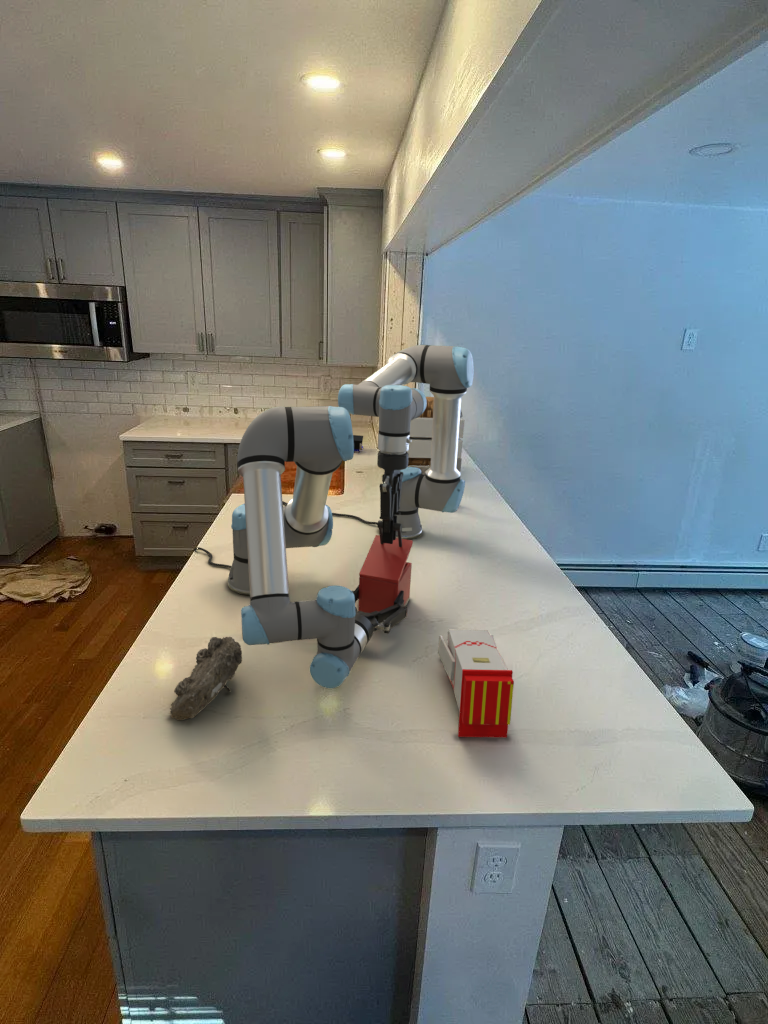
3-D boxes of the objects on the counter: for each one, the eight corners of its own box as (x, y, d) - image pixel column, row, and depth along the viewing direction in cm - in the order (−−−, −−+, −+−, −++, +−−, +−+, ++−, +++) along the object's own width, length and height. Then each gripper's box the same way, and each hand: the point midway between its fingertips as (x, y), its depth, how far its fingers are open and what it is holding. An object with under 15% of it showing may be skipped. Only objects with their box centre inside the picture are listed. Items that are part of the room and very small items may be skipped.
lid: (376, 537, 152) (373, 513, 146) (413, 543, 149) (411, 518, 143) (359, 576, 142) (355, 552, 136) (398, 583, 139) (396, 558, 133)
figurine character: (362, 456, 306) (363, 447, 319) (363, 443, 302) (363, 434, 316) (350, 456, 306) (351, 446, 319) (350, 442, 302) (351, 433, 316)
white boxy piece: (382, 463, 289) (386, 382, 275) (445, 464, 293) (451, 384, 279) (390, 482, 257) (394, 392, 243) (460, 483, 261) (468, 394, 247)
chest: (374, 592, 158) (375, 556, 154) (409, 599, 155) (411, 562, 151) (357, 616, 146) (359, 577, 142) (396, 623, 143) (398, 584, 139)
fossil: (193, 639, 125) (242, 608, 120) (224, 667, 128) (272, 638, 123) (147, 714, 105) (202, 680, 100) (184, 746, 108) (239, 715, 103)
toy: (488, 613, 130) (523, 677, 101) (484, 667, 133) (517, 744, 104) (435, 612, 130) (455, 676, 101) (432, 666, 133) (451, 743, 103)
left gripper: (304, 640, 129) (339, 596, 149) (400, 660, 123) (423, 612, 143) (304, 611, 127) (340, 571, 147) (402, 630, 121) (425, 586, 141)
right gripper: (400, 460, 129) (395, 554, 137) (415, 446, 143) (410, 532, 151) (368, 456, 131) (365, 549, 139) (387, 443, 145) (383, 528, 153)
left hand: (381, 591), depth 145 cm, fingers closed on chest, 10 cm apart
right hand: (388, 540), depth 145 cm, fingers closed on lid, 2 cm apart
